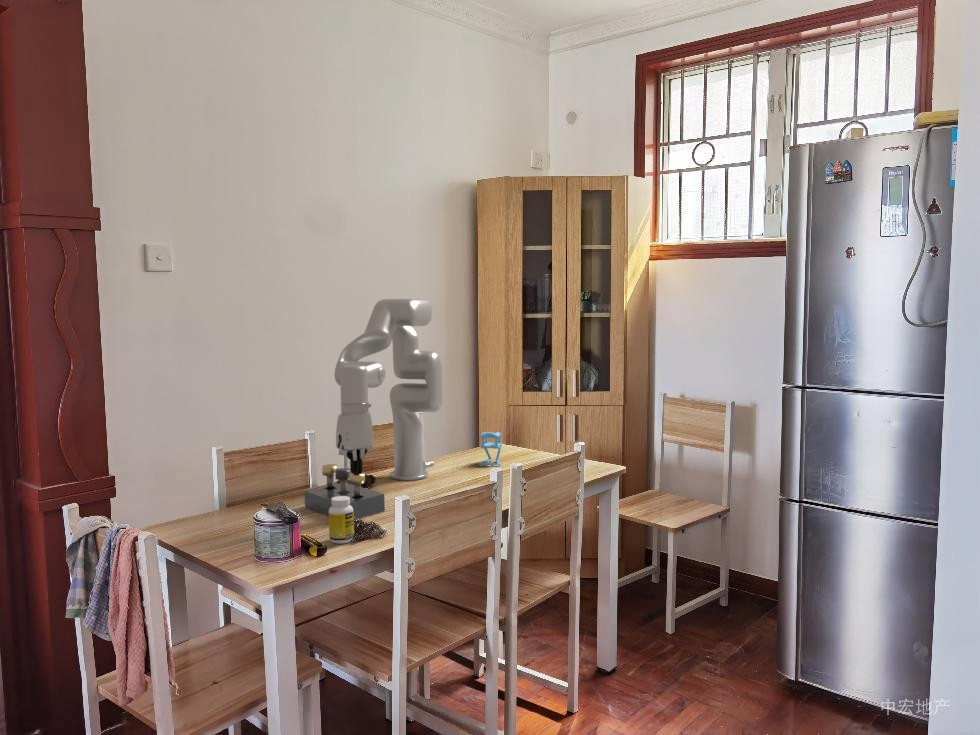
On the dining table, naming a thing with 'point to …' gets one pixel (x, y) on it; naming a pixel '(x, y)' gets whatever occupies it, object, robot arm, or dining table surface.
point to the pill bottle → (341, 520)
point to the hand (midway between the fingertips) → (356, 473)
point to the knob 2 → (357, 483)
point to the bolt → (368, 481)
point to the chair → (491, 446)
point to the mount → (362, 507)
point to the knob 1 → (329, 474)
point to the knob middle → (342, 478)
